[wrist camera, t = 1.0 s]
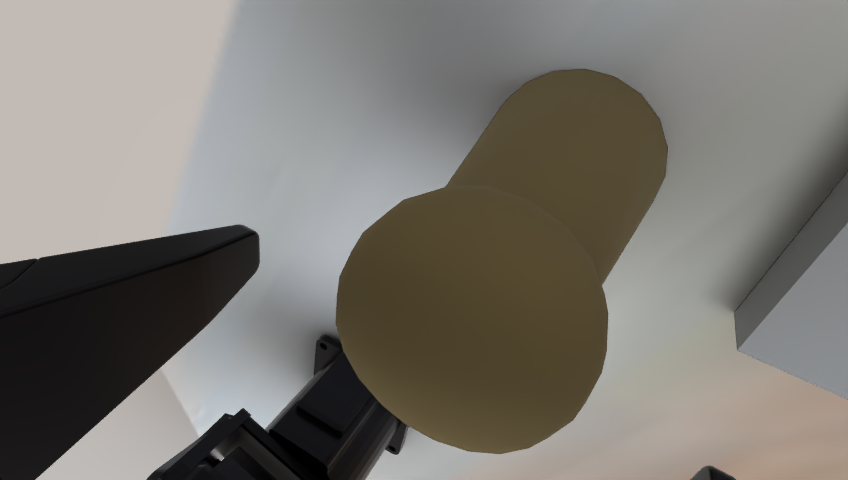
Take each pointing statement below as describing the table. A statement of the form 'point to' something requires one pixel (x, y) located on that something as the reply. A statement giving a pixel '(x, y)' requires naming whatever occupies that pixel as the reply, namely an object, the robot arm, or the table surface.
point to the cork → (505, 268)
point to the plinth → (805, 302)
